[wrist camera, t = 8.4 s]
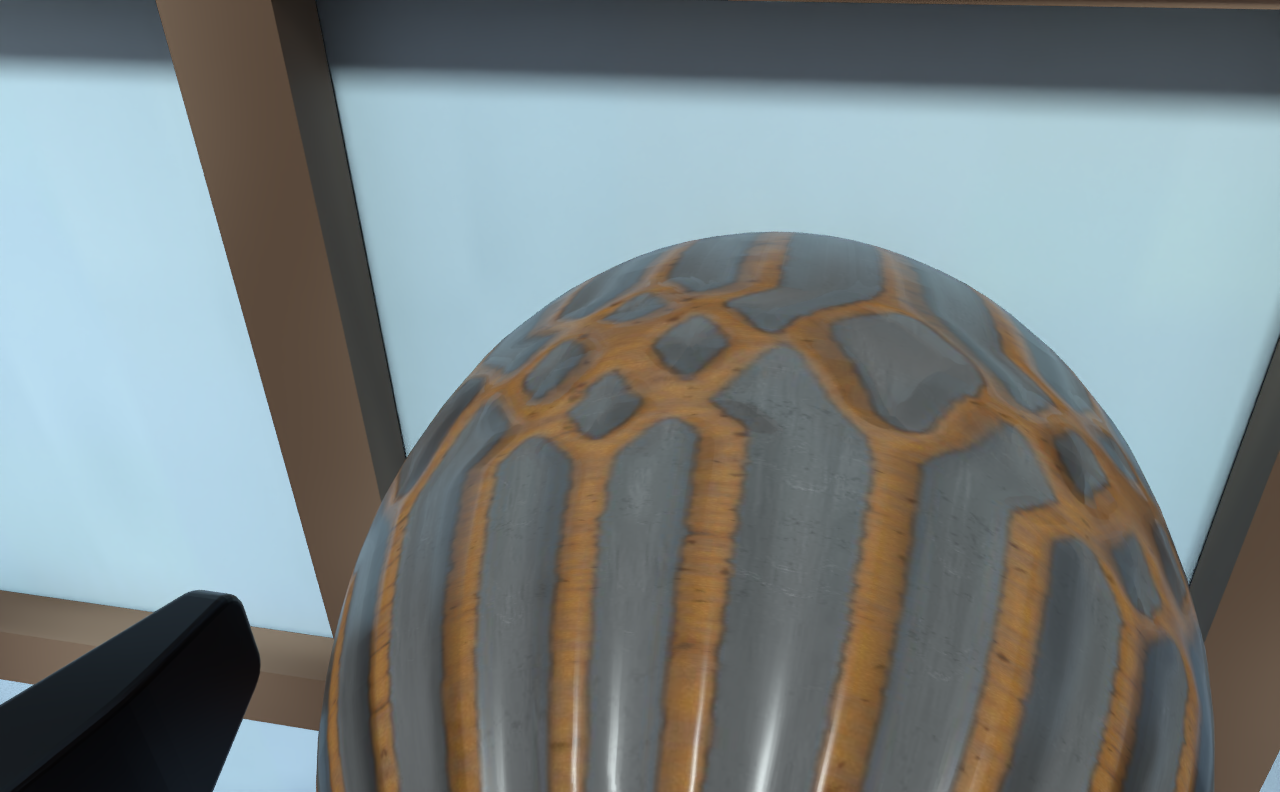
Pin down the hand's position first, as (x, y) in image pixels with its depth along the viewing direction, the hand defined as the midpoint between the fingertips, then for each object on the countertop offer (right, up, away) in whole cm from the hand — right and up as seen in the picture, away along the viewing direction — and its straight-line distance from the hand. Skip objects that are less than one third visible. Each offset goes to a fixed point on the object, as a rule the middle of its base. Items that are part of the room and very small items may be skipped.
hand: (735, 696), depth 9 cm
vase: (+1, +2, +3) cm, 4 cm away
